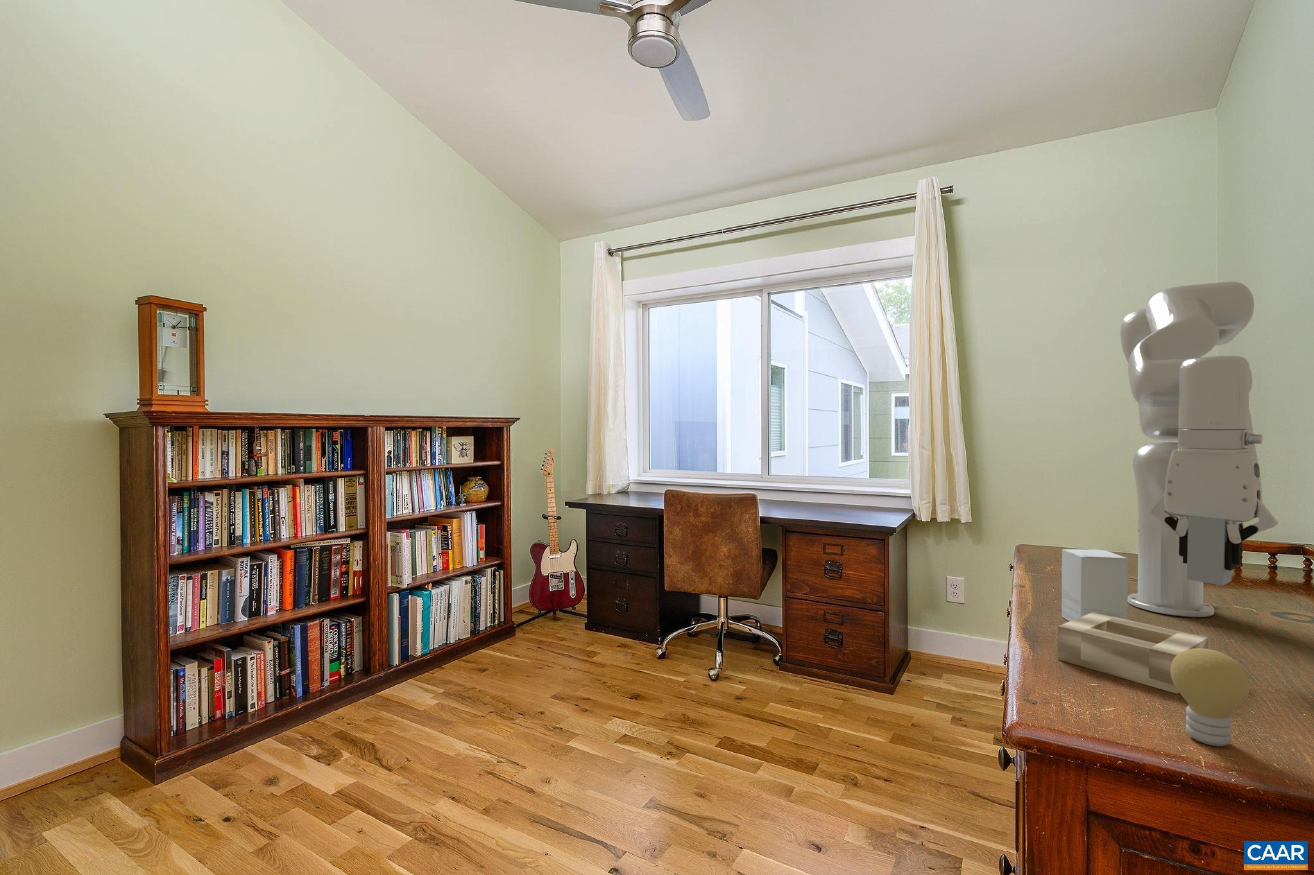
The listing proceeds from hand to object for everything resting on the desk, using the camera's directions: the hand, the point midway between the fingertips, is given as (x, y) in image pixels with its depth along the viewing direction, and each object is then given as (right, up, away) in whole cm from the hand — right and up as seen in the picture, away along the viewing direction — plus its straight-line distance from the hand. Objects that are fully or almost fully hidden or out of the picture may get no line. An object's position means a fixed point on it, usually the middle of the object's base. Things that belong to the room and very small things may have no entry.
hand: (1209, 564), depth 89 cm
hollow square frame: (-13, -14, -2) cm, 19 cm away
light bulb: (-21, -15, -22) cm, 34 cm away
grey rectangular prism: (0, -2, 0) cm, 2 cm away
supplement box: (-5, -14, +17) cm, 23 cm away
